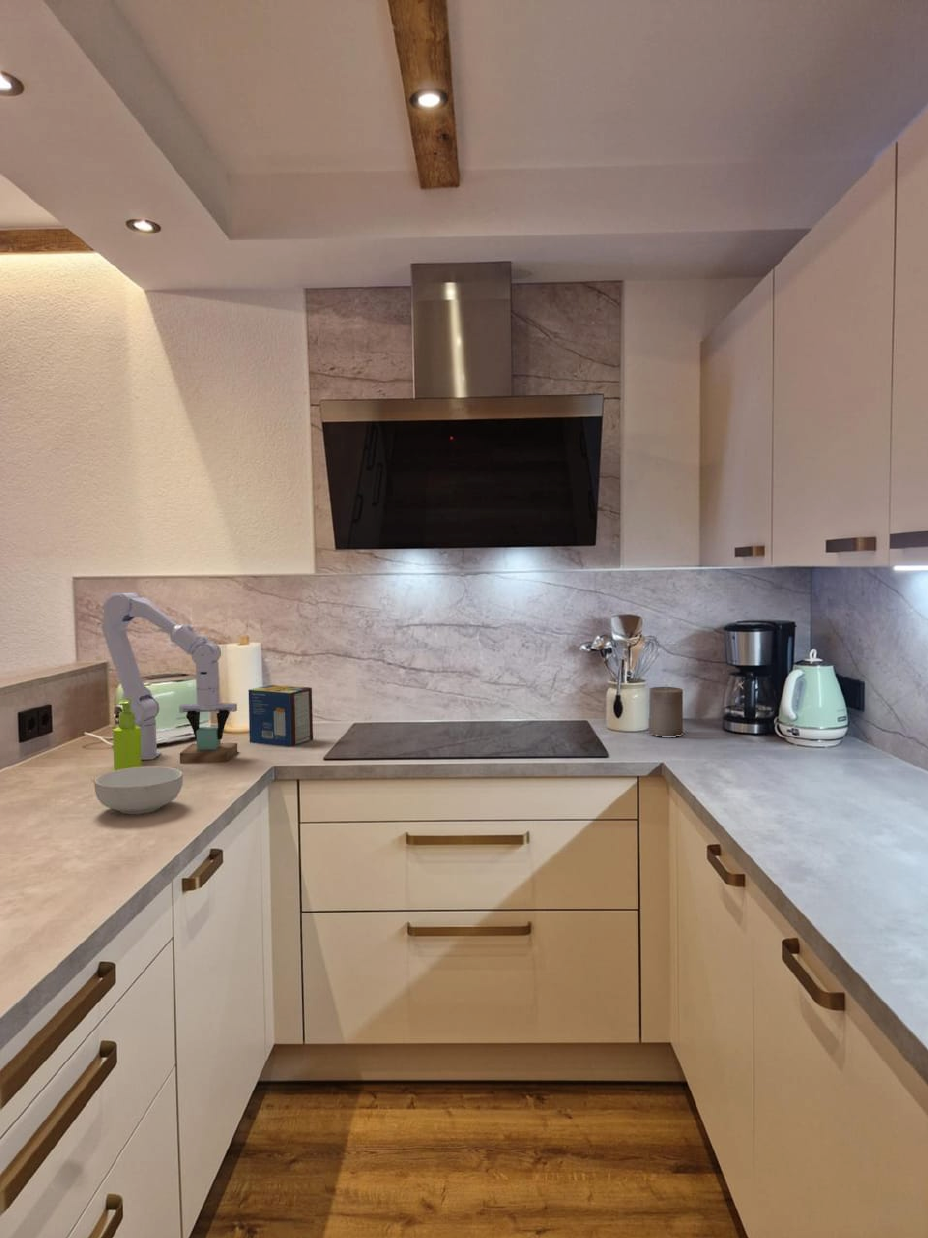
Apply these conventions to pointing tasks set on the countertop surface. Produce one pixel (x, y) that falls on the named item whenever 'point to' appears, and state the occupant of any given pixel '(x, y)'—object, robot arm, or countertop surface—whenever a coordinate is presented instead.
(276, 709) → the protein box
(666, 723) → the pillar candle
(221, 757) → the walnut base
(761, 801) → the countertop surface
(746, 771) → the countertop surface
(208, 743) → the teal cube
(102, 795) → the cereal bowl
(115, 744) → the soap dispenser
